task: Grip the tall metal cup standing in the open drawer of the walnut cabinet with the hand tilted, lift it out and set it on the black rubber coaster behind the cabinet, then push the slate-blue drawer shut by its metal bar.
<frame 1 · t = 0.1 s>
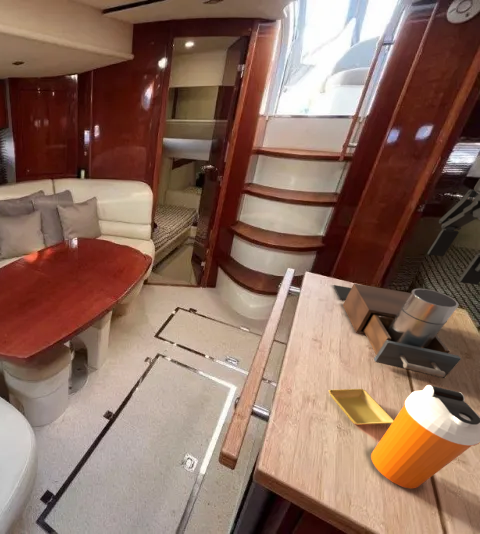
hand: (450, 267, 70), 28 cm above the table, tool pointing down, fingers open, 13 cm apart
yellow square tray: (356, 411, 69), on the table
shaker bottle: (393, 468, 59), on the table
metal cup: (399, 348, 83), point 2 cm above the table, touching drawer
coaster: (351, 295, 108), on the table
cabinet: (378, 324, 94), on the table
drawer: (407, 348, 80), point 4 cm above the table, slide at 12.0 cm, touching metal cup
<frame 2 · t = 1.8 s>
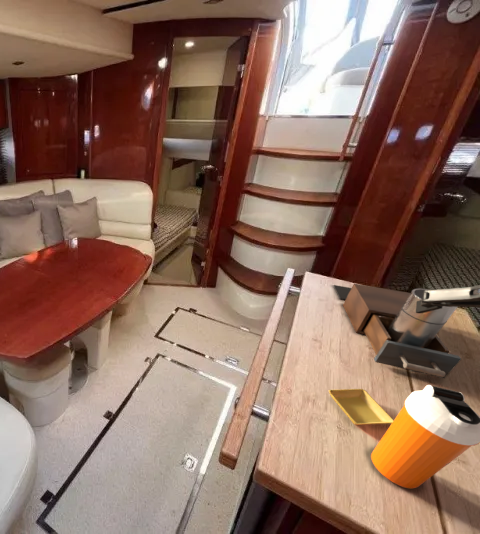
hand: (459, 316, 66), 21 cm above the table, tool tilted 45°, fingers open, 13 cm apart
nothing on the table moved.
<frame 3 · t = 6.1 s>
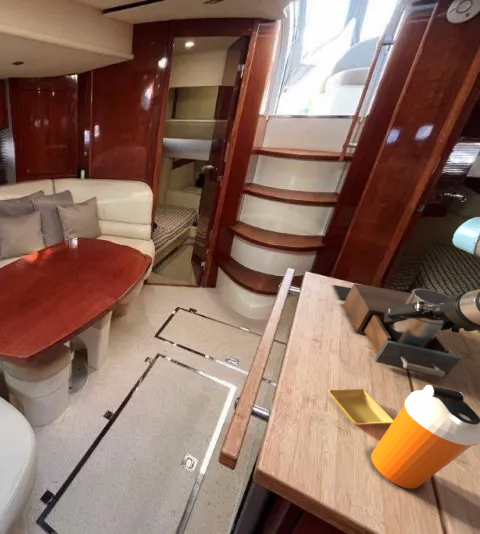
hand: (406, 322, 82), 9 cm above the table, tool tilted 45°, fingers closed on metal cup, 8 cm apart
metal cup: (399, 348, 83), point 2 cm above the table, touching drawer, gripper
everything else where it was.
when the fingers open (7 cm above the table, at t = 17.3 s): metal cup stays where it is, resting on coaster.
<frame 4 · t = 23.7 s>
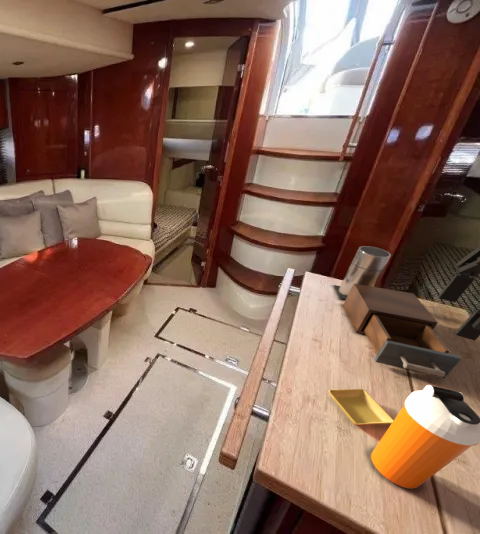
hand: (454, 317, 66), 20 cm above the table, tool pointing down, fingers open, 13 cm apart
metal cup: (352, 294, 107), resting on coaster
drawer: (407, 348, 80), point 4 cm above the table, slide at 12.0 cm
everything else where it was.
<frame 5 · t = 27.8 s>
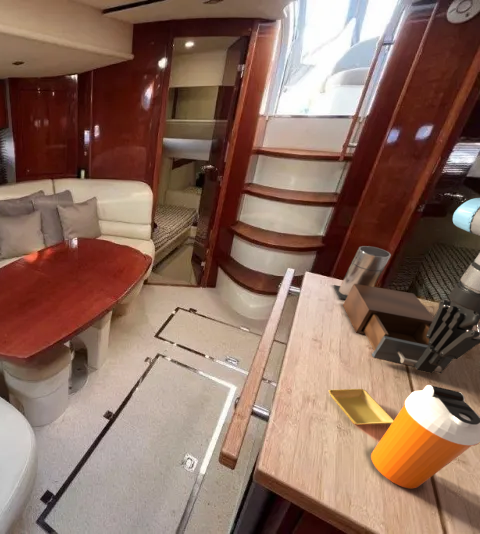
hand: (422, 369, 73), 5 cm above the table, tool pointing down, fingers closed
drawer: (405, 343, 81), point 4 cm above the table, slide at 10.3 cm, touching gripper
everything else where it was.
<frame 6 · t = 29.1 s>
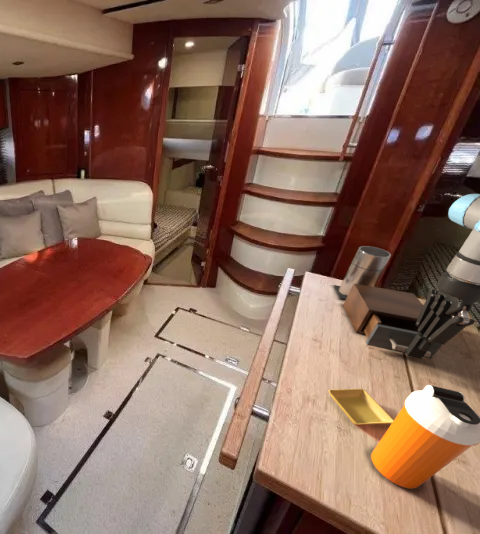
hand: (412, 355, 78), 4 cm above the table, tool pointing down, fingers closed
drawer: (397, 331, 85), point 4 cm above the table, slide at 5.2 cm, touching gripper
everything else where it was.
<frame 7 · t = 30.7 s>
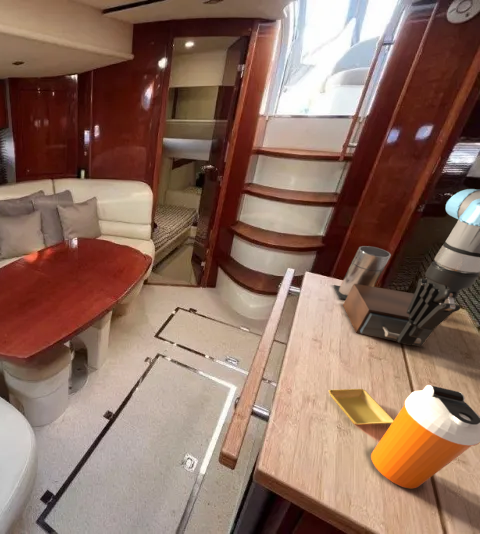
hand: (404, 342, 82), 4 cm above the table, tool pointing down, fingers closed
drawer: (390, 320, 89), point 4 cm above the table, slide at 0.0 cm, touching cabinet, gripper
everything else where it was.
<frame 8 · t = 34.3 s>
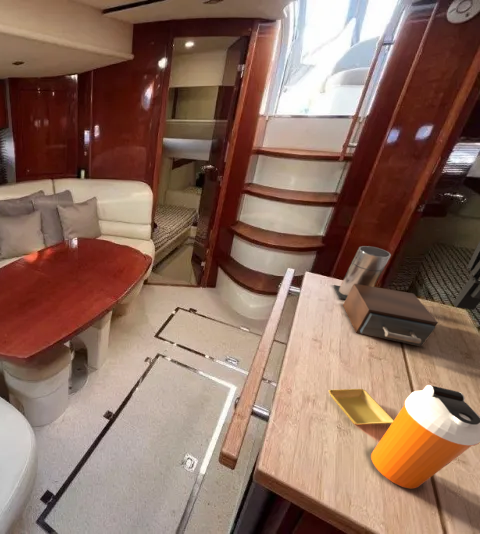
hand: (462, 306, 66), 22 cm above the table, tool pointing down, fingers closed
drawer: (390, 320, 89), point 4 cm above the table, slide at 0.0 cm
everything else where it was.
at the end: metal cup 0.1 cm off-centre on the coaster, point 0.5 cm above the coaster's base; metal cup tilted 0°; drawer slide at 0.0 cm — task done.
